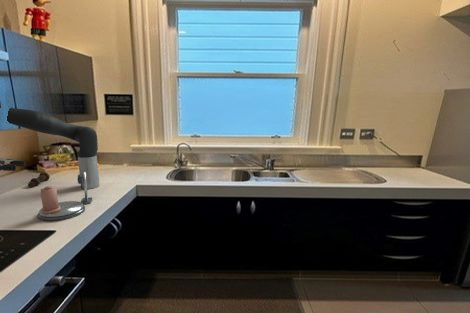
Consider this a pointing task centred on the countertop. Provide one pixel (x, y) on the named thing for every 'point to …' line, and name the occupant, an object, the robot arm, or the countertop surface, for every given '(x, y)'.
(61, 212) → the disc
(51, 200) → the cover
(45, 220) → the base
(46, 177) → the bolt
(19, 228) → the countertop surface
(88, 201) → the dial gauge
